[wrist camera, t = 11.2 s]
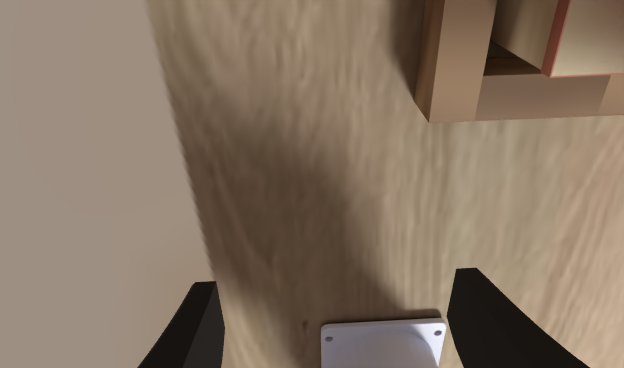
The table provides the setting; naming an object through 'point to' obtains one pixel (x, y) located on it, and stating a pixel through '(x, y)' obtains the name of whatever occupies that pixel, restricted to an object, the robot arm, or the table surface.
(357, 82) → the table surface
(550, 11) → the pink-ended wooden beam
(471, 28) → the wooden square frame
